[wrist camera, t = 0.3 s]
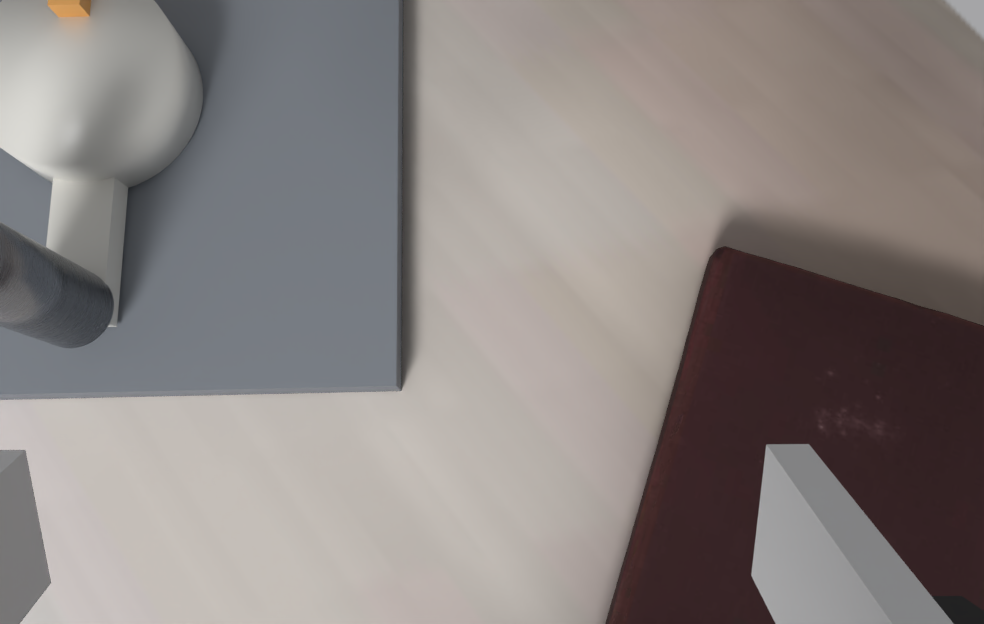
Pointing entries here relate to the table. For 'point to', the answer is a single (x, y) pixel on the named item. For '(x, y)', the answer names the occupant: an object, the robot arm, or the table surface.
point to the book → (808, 437)
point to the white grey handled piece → (85, 148)
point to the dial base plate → (251, 219)
